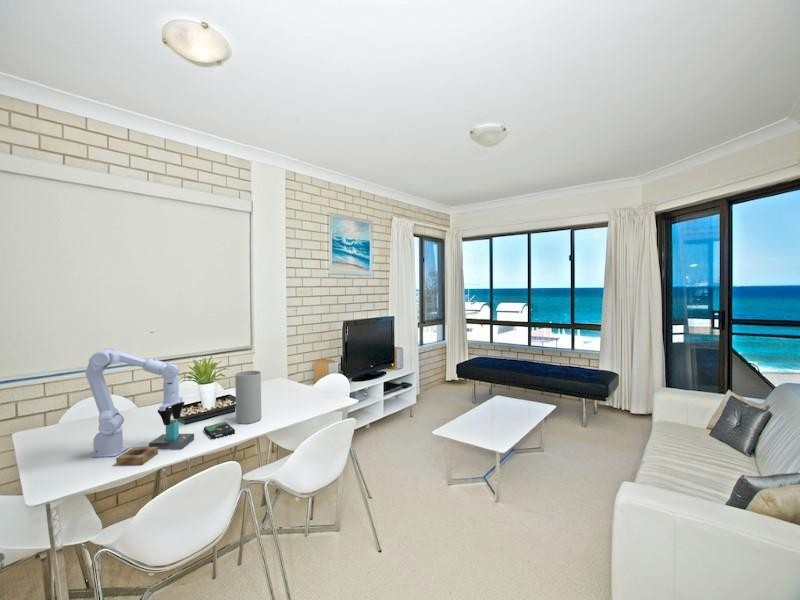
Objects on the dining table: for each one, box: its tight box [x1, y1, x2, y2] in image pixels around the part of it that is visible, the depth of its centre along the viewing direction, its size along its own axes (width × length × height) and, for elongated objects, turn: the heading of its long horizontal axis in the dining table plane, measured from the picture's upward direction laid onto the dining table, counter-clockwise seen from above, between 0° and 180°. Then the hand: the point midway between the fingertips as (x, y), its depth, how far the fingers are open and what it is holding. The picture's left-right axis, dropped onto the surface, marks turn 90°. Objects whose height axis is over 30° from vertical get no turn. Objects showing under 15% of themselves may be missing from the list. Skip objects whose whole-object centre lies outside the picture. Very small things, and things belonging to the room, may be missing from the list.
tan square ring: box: [115, 446, 159, 466], centre depth 152 cm, size 10×10×3 cm
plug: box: [165, 419, 180, 441], centre depth 166 cm, size 4×4×11 cm
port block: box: [148, 433, 195, 450], centre depth 166 cm, size 14×10×3 cm
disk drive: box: [203, 421, 236, 440], centre depth 180 cm, size 10×3×15 cm
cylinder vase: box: [234, 370, 262, 425], centre depth 196 cm, size 12×12×25 cm
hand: (171, 421), depth 166 cm, fingers open, 7 cm apart
